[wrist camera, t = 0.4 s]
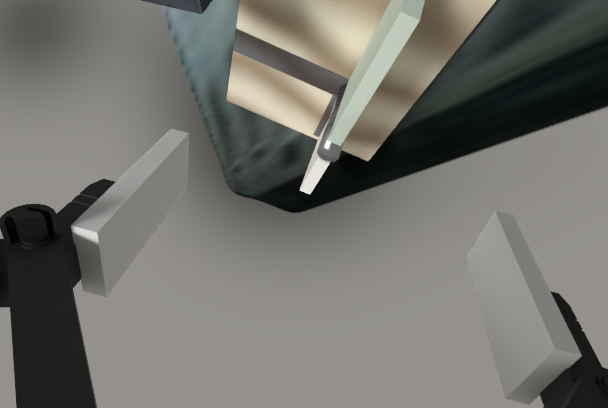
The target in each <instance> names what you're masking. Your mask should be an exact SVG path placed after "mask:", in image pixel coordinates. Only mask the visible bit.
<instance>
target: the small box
mask: <svg viewBox="0 0 608 408" xmlns="http://www.w3.org/2000/svg"><path fill="white" fill-rule="evenodd" d="M141 1H146V2H151V3H155V4H159V5H164V6H168V7H173V8H177V9H181V10H186V11H190V12H194V13H198V14H202V13H203V12H204V11H205V10H206V9H207V7H208V6H209V4H210V2H211V1H212V0H141Z"/></svg>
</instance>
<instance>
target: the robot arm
mask: <svg viewBox="0 0 608 408" xmlns="http://www.w3.org/2000/svg"><path fill="white" fill-rule="evenodd" d="M188 143H189V133H186V132H181V131H178V130H174V129H170V130H169V131H168V132H167V133H166V134H165V135H164V136H163V137H162V138H161V139H160V140H159V141H158V142H157V143H156V144H155V145H154V146H153V147H152V148H151V149H150V150H149V151H148V152H147V153H145V155H143V156H142V157H141V158H140V159H139V160H138V161H137V162H136V163H135V164H134V165H133V166H132V167H131V168H130V169H129V170H128V171H127V172H126V173H125V174H124V175H123V176H122V177H121V178H120V179H118V180H117V181H116V182H114V181H110V180H106V179H102V180H100V181H97V182H95V183H93V184H90V185H89V186H88V187H87V188H85V189H84V190H83V191H82V192H81V193H80V195H78V196H76V197H75V198H74V199H73V200H72V202H70V203H68V204H67V205H66V206H65V207H64V208H63V209H62V210H61V211H59V212H58V213H57V214H56V213H55V211H54V209H52V208H50V207H49V206H46V205H41V204H26V205H22V206H18V207H15V208H13V209H11V210H9V211H7V212H6V213H5V214H4V215H3V216H2V217H1V218H0V229H1V232H2V235H3V238H4V239H0V307H10V313H11V328H12V344H13V359H14V373H15V390H16V404H17V408H97V405H96V400H95V395H94V390H93V386H92V380H91V375H90V370H89V366H88V361H87V356H86V351H85V346H84V342H83V336H82V332H81V327H80V322H79V317H78V312H77V307H76V303H75V297H74V292H73V288H74V287H75V285H76V284H77V283H78V282H79V281H80V279H81V282H82V287H83V291H85V292H89V293H93V294H97V295H101V296H104V297H107V296H108V294H109V293H110V291H111V290H112V289H113V287H114V286H115V285H116V283H117V282H118V281H119V279H120V278H121V277H122V275H123V274H124V273H125V271H126V270H127V268H128V267H129V266H130V264H131V263H132V262H133V260H134V259H135V257H136V256H137V255H138V253H139V252H140V251H141V249H142V248H143V247H144V245H145V244H146V243H147V241H148V240H149V238H150V237H151V236H152V234H153V233H154V232H155V230H156V229H157V227H158V226H159V225H160V224H161V222H162V221H163V219H164V218H165V217H166V215H167V214H168V213H169V211H170V210H171V208H172V207H173V206H174V205H175V203H176V202H177V200H178V199H179V198H180V196H181V195H182V194H183V192H184V191H185V190H186V188H187V177H188V176H187V175H188V145H189V144H188ZM466 260H467V264H468V268H469V271H470V275H471V278H472V282H473V285H474V288H475V292H476V296H477V299H478V303H479V306H480V310H481V313H482V317H483V320H484V324H485V327H486V331H487V334H488V338H489V342H490V345H491V349H492V351H493V356H494V359H495V363H496V366H497V369H498V373H499V377H500V380H501V384H502V387H503V391H504V394H505V398H506V399H509V400H513V401H517V402H521V403H524V404H528V405H529V404H530V403H531V402H533V401H534V400H535V399H536V398H537V397H538V396H539V395H540V396H541V399H542V402H543V404H544V408H608V369H606V368H603V367H602V366H601V364H600V362H599V360H598V358H597V356H596V354H595V352H594V350H593V349H592V347H591V345H590V343H589V341H588V339H587V337H586V335H585V333H584V332H582V328H581V326H580V324H579V322H578V321H576V319H577V318H576V317H575V314H574V313H573V311H572V309H571V307H570V305H568V303H567V302H566V301H565V300H564V299H563V298H562V297H561V296H560V294H558V293H555V292H551V291H550V290H549V288H548V286H547V284H546V282H545V280H544V278H543V276H542V274H541V272H540V270H539V268H538V266H537V263H536V261H535V259H534V258H533V256H532V254H531V251H530V249H529V247H528V245H527V243H526V241H525V239H524V237H523V235H522V233H521V231H520V229H519V227H518V225H517V223H516V221H515V219H514V217H513V215H509V214H505V213H501V212H497V211H495V212H494V213H493V215H492V217H491V218H490V220H489V221H488V223H487V225H486V226H485V228H484V230H483V231H482V233H481V234H480V236H479V238H478V239H477V241H476V242H475V244H474V246H473V247H472V249H471V250H470V252H469V254H468V255H467V257H466Z"/></svg>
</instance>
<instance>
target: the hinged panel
mask: <svg viewBox="0 0 608 408" xmlns="http://www.w3.org/2000/svg"><path fill="white" fill-rule="evenodd" d="M424 2H425V0H391V1H390V3H389V5H388V7H387V8H386V10H385V12H384V14H383V16H382V18H381V20H380V22H379V24H378V26H377V28H376V29H375V31H374V33H373V35H372V37H371V39H370V41H369V43H368V45H367V47H366V49H365V50H364V52H363V54H362V56H361V58H360V60H359V62H358V64H357V66H356V68H355V70H354V71H353V73H352V75H351V77H350V79H349V81H348V84H347V87H346V90H345V93H344V95H343V98H342V101H341V104H340V107H339V110H338V113H337V115H336V118H335V121H334V124H333V127H332V130H331V132H330V135H329V138H328V141H330V142H332V143H334V144H337V145H339V146H341V145H342V143H343V142H344V140H345V138H346V137H347V135H348V134H349V132H350V130H351V129H352V127H353V126H354V124H355V123H356V121H357V119H358V118H359V116H360V115H361V113H362V111H363V110H364V108H365V107H366V105H367V104H368V102H369V100H370V99H371V97H372V96H373V94H374V93H375V91H376V89H377V88H378V86H379V85H380V83H381V81H382V80H383V78H384V77H385V75H386V74H387V72H388V70H389V69H390V67H391V66H392V64H393V62H394V61H395V59H396V58H397V56H398V55H399V53H400V51H401V50H402V48H403V47H404V45H405V43H406V42H407V40H408V39H409V37H410V36H411V34H412V32H413V31H414V29H415V28H416V26H417V25H418V23H419V21H420V18H421V14H422V10H423V6H424Z"/></svg>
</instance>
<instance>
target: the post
mask: <svg viewBox="0 0 608 408" xmlns="http://www.w3.org/2000/svg"><path fill="white" fill-rule="evenodd" d="M347 84H348V83H347ZM347 84H343V85H342V86H341V87H340V89H339V92H338V95H337V97H336V100H335V103H334V106H333V108H332V111H331V114H330V117H329V120H328V122H327V125H326V128H325V131H324V133H323V136H322V139H321V142H320V144H319V147H318V150H317V154H318V156H319V157H320V158H321V159H323V160H325V161H329V162H334V161H337V160H338V159H339V156H340V153H341V150H342V146H343V143H344V142H343V143H342V145H341V146H339V145H337V144H334V143H332V142H330V141H328V138H329V135H330V132H331V130H332V127H333V124H334V121H335V118H336V115H337V113H338V110H339V107H340V104H341V101H342V98H343V95H344V93H345V90H346V87H347Z"/></svg>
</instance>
